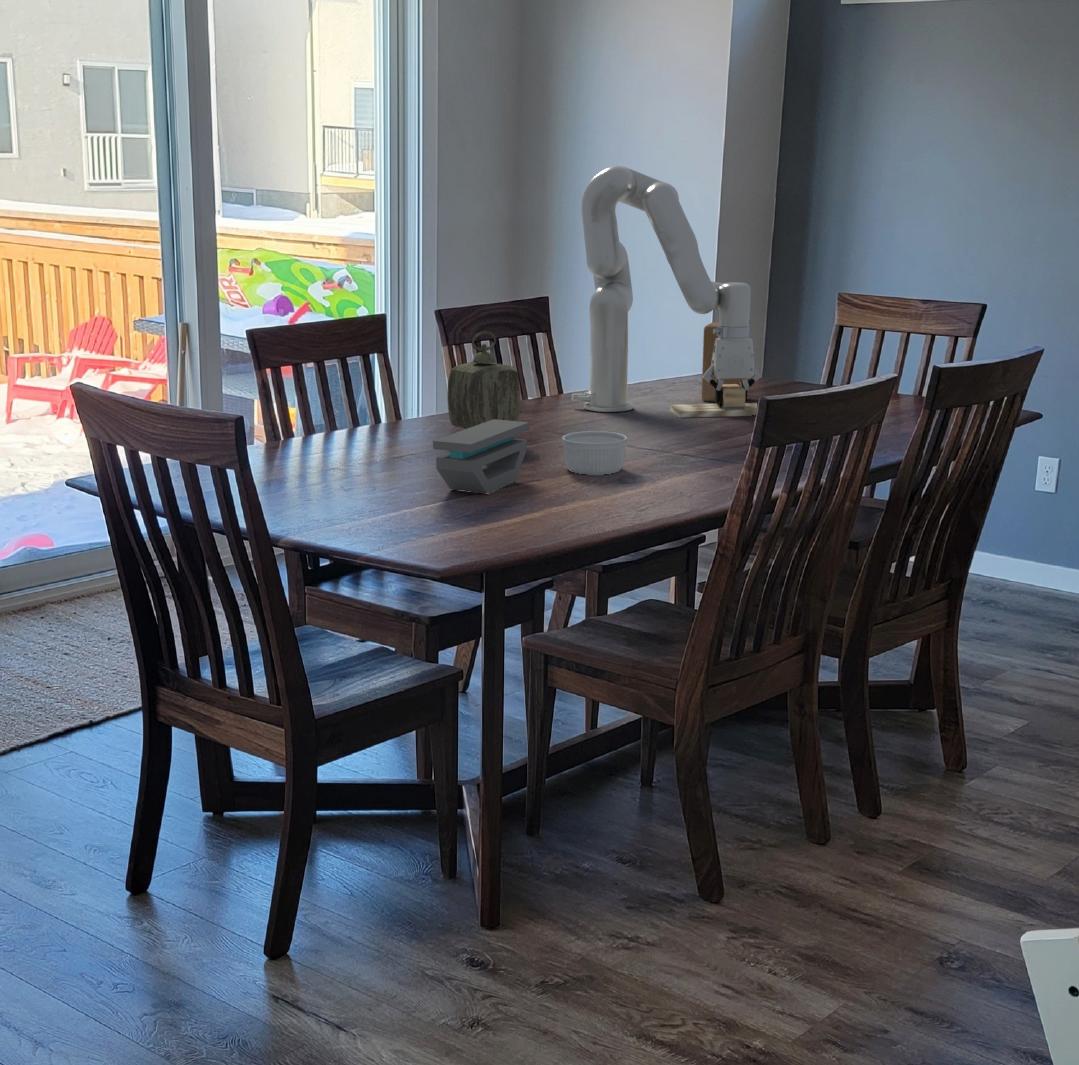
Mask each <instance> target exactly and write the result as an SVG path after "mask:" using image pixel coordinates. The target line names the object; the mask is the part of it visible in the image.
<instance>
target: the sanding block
mask: <svg viewBox="0 0 1079 1065" xmlns="http://www.w3.org/2000/svg"><path fill="white" fill-rule="evenodd" d="M722 391H723V406H721V407H722V408H723V409H725V410H745V403H746V402H745V393H746V390H745V389H744V388H742V387H741V386H739V385H738V384H723V385H722Z"/></svg>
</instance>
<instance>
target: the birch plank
mask: <svg viewBox="0 0 1079 1065" xmlns="http://www.w3.org/2000/svg"><path fill="white" fill-rule="evenodd" d="M757 403H758V402H745V410H725V409H723V408H722V407H721V406H718V405H717V403H692V404H691V403H690V404H669V411H670V412H672V413H673V414H674V415H675V416H676V417H678V418H702V417H703V418H711V417H713V418H714V417H715V418H716V417H718V418H719V417H746V416H747V417H751V416H752V415H753V414H754V416H753V417H755V414H756V411H757Z"/></svg>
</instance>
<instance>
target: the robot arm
mask: <svg viewBox="0 0 1079 1065" xmlns="http://www.w3.org/2000/svg"><path fill="white" fill-rule="evenodd" d="M679 198H680V196H679V194H678V191H677V189H676V188H675V187H674V186H673V185H672V184H670V183H668V182H665V181H662V180H659V179H656V178H653V177H651V176H650V175H649V176H648V175H647V174H644V173H641V172H639V171H636V170H634V169H632V168H629V167H626V166H620V165H614V166H608V167H607V168H606V167H605V169H603V170H601V171H600V172H599V173H597V174H596V175H594V176H593V177H592V179H591V180H590V181H589V183H588V184H587V185H586V187H585V189H584V191H583V195H582V199H581V217H582V220H581V221H582V226H583V227H582V228H583V239H584V245H585V257H586V264H587V265H586V266H587V268H588V270H589V272H590V273H591V274H592V276H593V283H594V291H593V293H592V295H591V298H590V301H589V323H590V324H589V327H590V354H589V355H590V356H589V357H590V360H589V362H590V365H589V366H590V368H589V378H590V380H589V389H586V391H583V393H571V401H572V402H583V409H585V410H588V411H593V412H600V413H615V412H616V413H619V412H626V411H627V412H628V411H630V410H632V409H634V404H633V402H630V401H628V373H629V372H628V370H629V369H628V368H629V367H628V366H629V321H628V320H629V311H630V310H631V308H632V306H633V301H634V297H633V295H634V294H633V287H632V279H631V269H630V264H629V255H628V252H627V250H626V248H625V246H624V245H623V243H621V242H620V239H619V238H620V236H619V231H618V229H619V228H618V220H617V214H616V208H617V204H618V203H619V202H620V203H622V204H625V205H628V206H630V207H632V208H634V209H637V210H640V211H642V212H645V214H646V217H647V219H648V220H649V223H650V226H652V229H653V232H654V233H655V235H656V237H657V240H658V241H659V245H660V246H661V249H662V251H663V253H664V255H665V258H666V261H667V263H668V264H669V266H670V269H671V271H672V274H673V276H674V278H675V281H676V282H677V285H678V287H679V289H680V291H681V293H682V295H683V298H684V299H685V300H684V301H685V302H686V304H687V306H688V308H690V310H691V311H693V312H694V313H696V314H699V315H705V314H709V313H711V312H712V311H713V310H714V311H716V310H719V312H718V315H719V316H718V322H719V326H718V328H716V329H713V334H716V335H718V338H716V340H715V344H714V349H713V355H712V364H711V366H710V367H709V369H708V370H707V371H706V372H705V373H704V375H703V378H704V379H705V380H707V381H708V382H709V383H710V384H711V385H712V386H713V387H714V389H715V402H714V403H715V404H717V405H718V406H723V391H722V385H723V382H724V380H731V379H740V382H741V387H742V388H744V389H745V390H746V393H745V403H748V391H749V390H750V388H751V387H752V386H753V385H754V384H755V382H757V381H758V380H759V379H761V377H762V375H761V373H760V371H759V370H758V369H757V368H756V366H755V356H754V355H755V352H754V343H753V342H754V341H753V339H752V338H749V337H750V336H749V335H750V315H751V294H752V293H751V291H752V290H751V286H750V285H749V284H748V283H746V282H735V281H734V282H724V283H723V282H717V281H711V279H710V277H709V275H708V272H707V270H706V268H705V266H704V263H703V260H702V258H701V255H700V250H699V246H698V240H697V236H696V234H695V232H694V230H693V228H692V226H691V224H690V223H689V220H688V218H687V216H686V213H685V211H684V209H683V207H682V205H681V203H680V199H679ZM711 374H712V376H714V377H716V381H714V380H713V379H712V378H711Z"/></svg>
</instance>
